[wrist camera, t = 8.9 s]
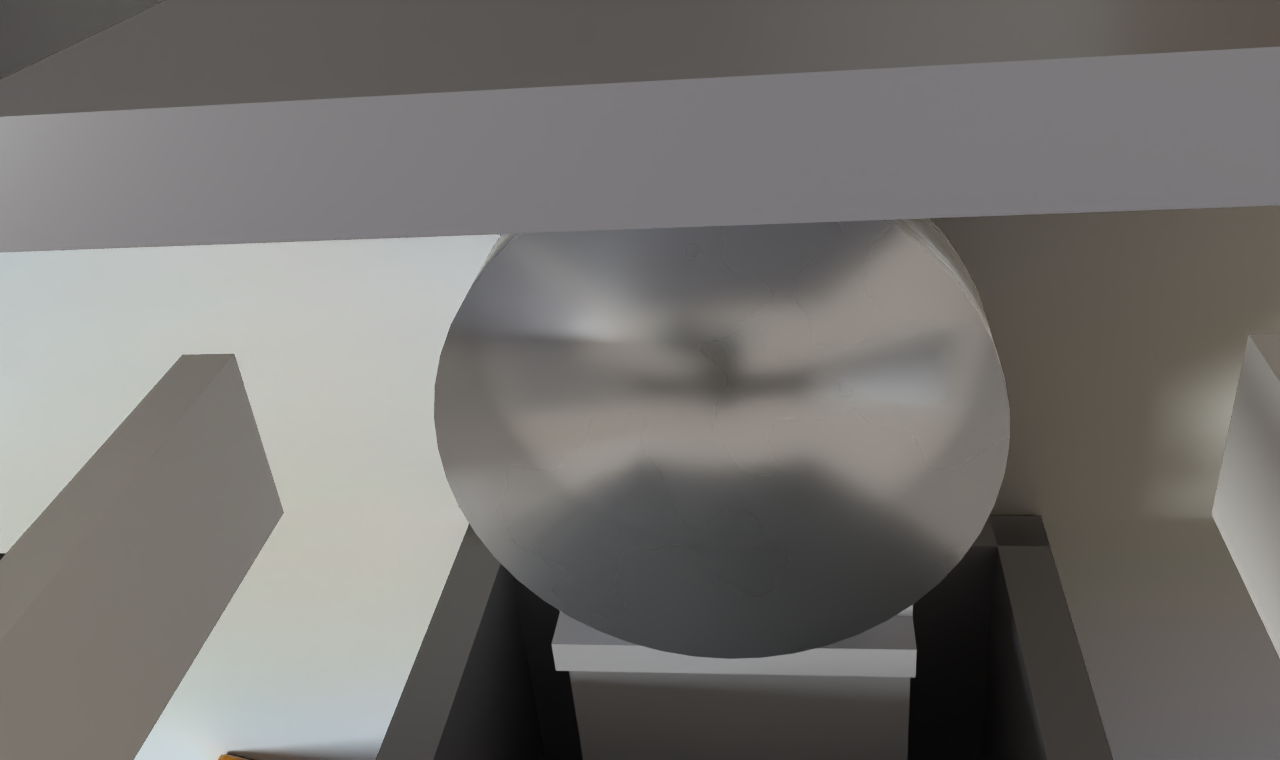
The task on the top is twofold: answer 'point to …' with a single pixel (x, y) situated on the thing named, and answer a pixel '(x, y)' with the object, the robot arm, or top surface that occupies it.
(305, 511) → the top surface
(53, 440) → the top surface
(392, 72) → the tray
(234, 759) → the supplement box
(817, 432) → the disc
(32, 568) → the robot arm
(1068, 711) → the grey box
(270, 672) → the top surface
